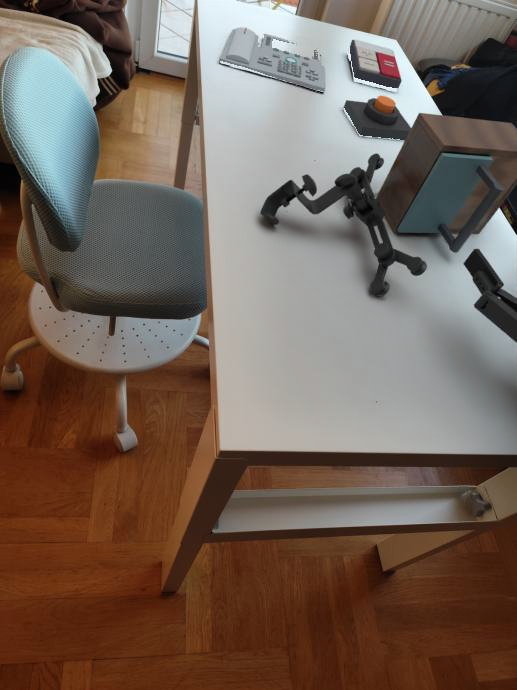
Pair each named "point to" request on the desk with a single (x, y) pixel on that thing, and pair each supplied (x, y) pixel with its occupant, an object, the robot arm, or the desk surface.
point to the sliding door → (451, 197)
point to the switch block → (377, 120)
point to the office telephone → (273, 59)
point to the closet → (454, 138)
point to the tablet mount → (350, 214)
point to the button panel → (374, 64)
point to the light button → (384, 104)
